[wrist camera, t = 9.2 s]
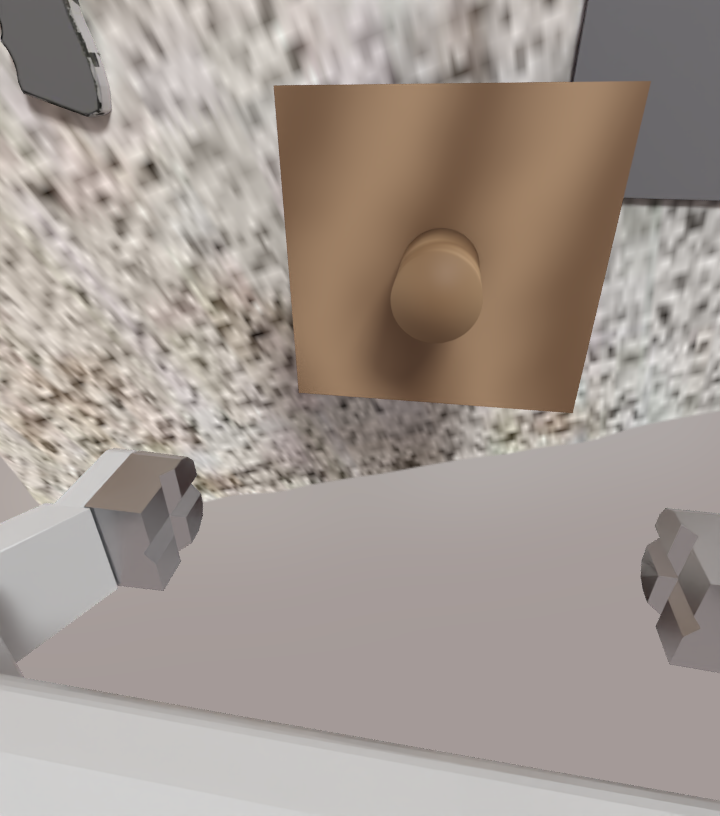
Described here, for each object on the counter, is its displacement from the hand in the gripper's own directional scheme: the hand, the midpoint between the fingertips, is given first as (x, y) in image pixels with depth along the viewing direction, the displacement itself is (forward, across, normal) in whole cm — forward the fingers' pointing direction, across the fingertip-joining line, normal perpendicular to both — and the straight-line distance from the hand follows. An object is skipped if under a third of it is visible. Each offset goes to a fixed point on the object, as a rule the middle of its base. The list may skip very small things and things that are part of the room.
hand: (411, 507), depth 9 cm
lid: (+16, 0, 0) cm, 16 cm away
